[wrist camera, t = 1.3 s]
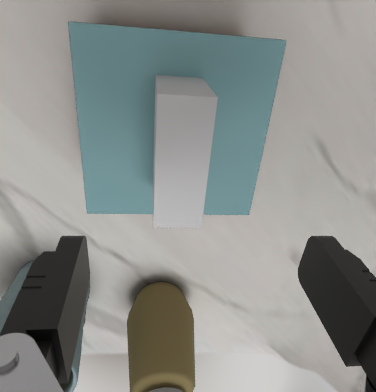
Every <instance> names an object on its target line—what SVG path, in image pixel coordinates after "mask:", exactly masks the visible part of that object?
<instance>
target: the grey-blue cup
mask: <svg viewBox="0 0 376 392" xmlns="http://www.w3.org/2000/svg"><path fill="white" fill-rule="evenodd" d="M34 261H35V260H33V261H31V262H29V263H27V264H26V265H25V266H24V267H23V268H22V269H21V270H20V271H19V272H18V274H17V275H16V277H15V279H14V281H13V282H12V284H11V285H10V287H9V288H8V290H7V292H6V293H5V295H4V296H3V298H2V299H1V301H0V332H1V330H2V328H3V326H4V324H5V321H6V319H7V317H8V315H9V313H10V310H11V308H12V306H13V304H14V302H15V299H16V297H17V295H18V293H19V291H20V290H21V286H22V284H23V282H24V280H25V279H26V275H27V273H28V271H29V269H30V266H31V264H32V263H33V262H34ZM89 293H90V282H89V288H88V293H87V298H86V302H85V307H84V312H83V316H82V321H81V326H80V330H79V335H78V340H77V344H76V349H75V354H74V359H73V363H72V368H71V373H70V377H69V382H68V383H59V385H60V386H61V388H62V390H63V392H73V391H74V389H75V387H76V385H77V381H78V373H79V365H80V357H81V344H82V335H83V326H84V323H85V314H86V305H87V302H88V299H89Z"/></svg>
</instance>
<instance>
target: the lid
mask: <svg viewBox="0 0 376 392" xmlns="http://www.w3.org/2000/svg"><path fill="white" fill-rule="evenodd" d="M68 27H69V37H70V47H71V57H72V67H73V77H74V88H75V98H76V108H77V118H78V128H79V138H80V148H81V158H82V169H83V179H84V189H85V199H86V209H87V213H92V214H153V228H201V227H202V219H203V215H249V213H250V208H251V203H252V199H253V194H254V190H255V185H256V180H257V176H258V171H259V166H260V162H261V157H262V152H263V148H264V143H265V139H266V134H267V129H268V125H269V120H270V115H271V111H272V106H273V101H274V97H275V92H276V88H277V83H278V78H279V74H280V69H281V64H282V60H283V55H284V50H285V46H286V41H285V40H281V39H269V38H257V37H246V36H234V35H222V34H211V33H199V32H188V31H176V30H164V29H153V28H141V27H129V26H118V25H106V24H95V23H83V22H68Z"/></svg>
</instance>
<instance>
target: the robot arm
mask: <svg viewBox="0 0 376 392" xmlns="http://www.w3.org/2000/svg"><path fill="white" fill-rule="evenodd" d="M298 278H299V281H300V284H301V286H302V288H303V289H304V291H305V293H306V295H307V297H308V298H309V300H310V302H311V304H312V306H313V307H314V309H315V311H316V313H317V315H318V316H319V318H320V320H321V322H322V324H323V326H324V327H325V329H326V331H327V333H328V335H329V336H330V338H331V340H332V342H333V344H334V345H335V347H336V349H337V351H338V353H339V354H340V356H341V358H342V360H343V362H344V364H345V365H346V367H347V366H362V368H363V370H364V371H365V372H364V373H363V375H362V377H361V384H360V392H376V277H375V276H374V275H373V274H372V273H370V272H369V269H368V268H367V267H366V266H365V264H364V263H363V262H362V261H361V260H360V259H359V258H358V257H356V256H355V255H354V254H352V253H351V252H349V251H348V250H344V248H343V247H342V246H341V245H340V243H339V242H338V241H337V240H336V239H335V238H334V237H333V236H311V237H310V238H309V239H308V241H307V244H306V247H305V250H304V253H303V255H302V258H301V261H300V264H299V267H298ZM89 280H90V269H89V259H88V249H87V240H86V237H85V236H62V237H61V238H60V241H59V243H58V246H57V248H56V251H55V252H43V253H42V254H41V255H40V256H39V257H38V258H37V259H36V260H35V261H34V262H33V263H32V264H31V266H30V269H29V271H28V273H27V275H26V279H25V280H24V282H23V284H22V286H21V290H20V291H19V293H18V295H17V297H16V299H15V302H14V304H13V306H12V308H11V310H10V313H9V315H8V317H7V319H6V321H5V324H4V326H3V328H2V330H1V332H0V392H63V390H62V388H61V386H60V385H59V383H68V382H69V377H70V373H71V368H72V363H73V359H74V354H75V349H76V344H77V340H78V335H79V330H80V326H81V321H82V316H83V312H84V307H85V302H86V298H87V293H88V288H89Z"/></svg>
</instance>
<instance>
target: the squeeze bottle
mask: <svg viewBox="0 0 376 392" xmlns="http://www.w3.org/2000/svg"><path fill="white" fill-rule="evenodd" d="M127 333H128V356H129V378H130V392H193V389H194V387H195V362H194V361H195V360H194V318H193V314H192V310H191V308H190V306H189V304H188V303H187V301H186V299H185V297H184V296H183V294H182V292H181V291H180V290H179V289H178V287H177V286H175V285H173V284H170V283H166V282H157V283H152V284H149V285H147V286H146V287H144V288H143V289H142V290H141V291H140V292H139V293H138V296H137V298H136V300H135V302H134V304H133V306H132V308H131V310H130V312H129V315H128V320H127Z"/></svg>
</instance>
